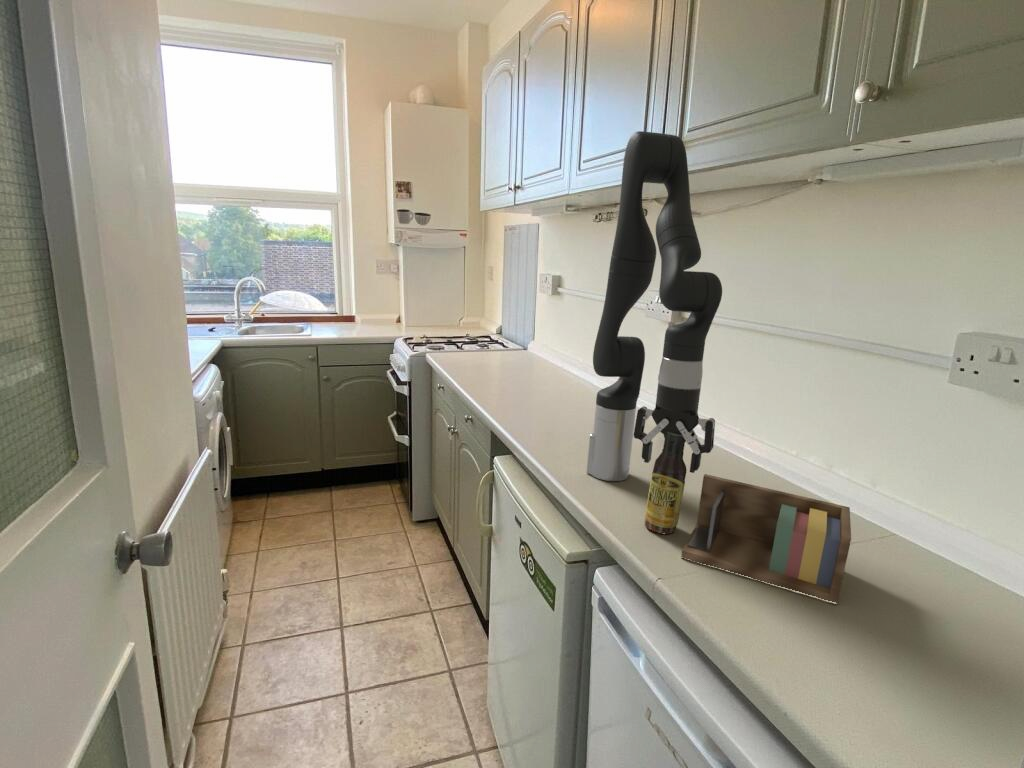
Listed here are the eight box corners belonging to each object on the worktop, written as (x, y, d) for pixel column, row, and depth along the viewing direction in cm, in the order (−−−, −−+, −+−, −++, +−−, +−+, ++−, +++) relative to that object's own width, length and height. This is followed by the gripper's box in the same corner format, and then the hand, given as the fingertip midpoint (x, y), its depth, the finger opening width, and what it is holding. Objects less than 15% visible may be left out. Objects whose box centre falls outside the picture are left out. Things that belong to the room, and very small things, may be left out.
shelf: (681, 558, 99) (689, 497, 96) (696, 528, 110) (704, 474, 107) (836, 605, 88) (851, 538, 85) (836, 567, 99) (849, 507, 96)
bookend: (687, 546, 100) (693, 502, 98) (698, 526, 108) (704, 485, 106) (709, 552, 98) (716, 508, 96) (718, 532, 106) (725, 490, 104)
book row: (768, 570, 94) (777, 520, 92) (774, 547, 101) (782, 501, 99) (830, 588, 89) (840, 536, 87) (830, 562, 97) (840, 515, 95)
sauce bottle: (639, 529, 108) (650, 431, 104) (650, 517, 114) (662, 423, 109) (672, 540, 105) (685, 439, 100) (682, 527, 110) (696, 431, 105)
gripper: (723, 385, 102) (712, 469, 106) (647, 374, 109) (638, 453, 113) (716, 392, 96) (704, 481, 100) (635, 380, 103) (626, 463, 106)
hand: (669, 466), depth 106 cm, fingers open, 8 cm apart
